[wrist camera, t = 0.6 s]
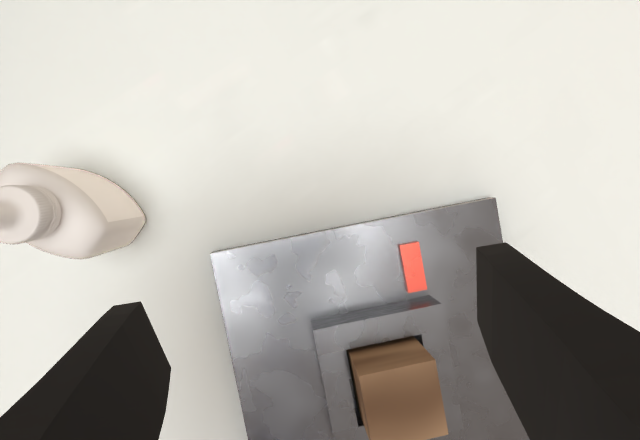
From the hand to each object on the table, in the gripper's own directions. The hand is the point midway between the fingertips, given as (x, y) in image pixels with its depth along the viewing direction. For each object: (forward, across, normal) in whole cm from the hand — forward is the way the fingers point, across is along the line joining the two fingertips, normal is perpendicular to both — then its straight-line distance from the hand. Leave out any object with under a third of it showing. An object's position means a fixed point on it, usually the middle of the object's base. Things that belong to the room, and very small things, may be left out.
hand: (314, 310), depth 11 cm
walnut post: (+14, -2, +17) cm, 22 cm away
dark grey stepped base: (+15, -2, +18) cm, 23 cm away
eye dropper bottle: (+20, +14, +6) cm, 24 cm away
